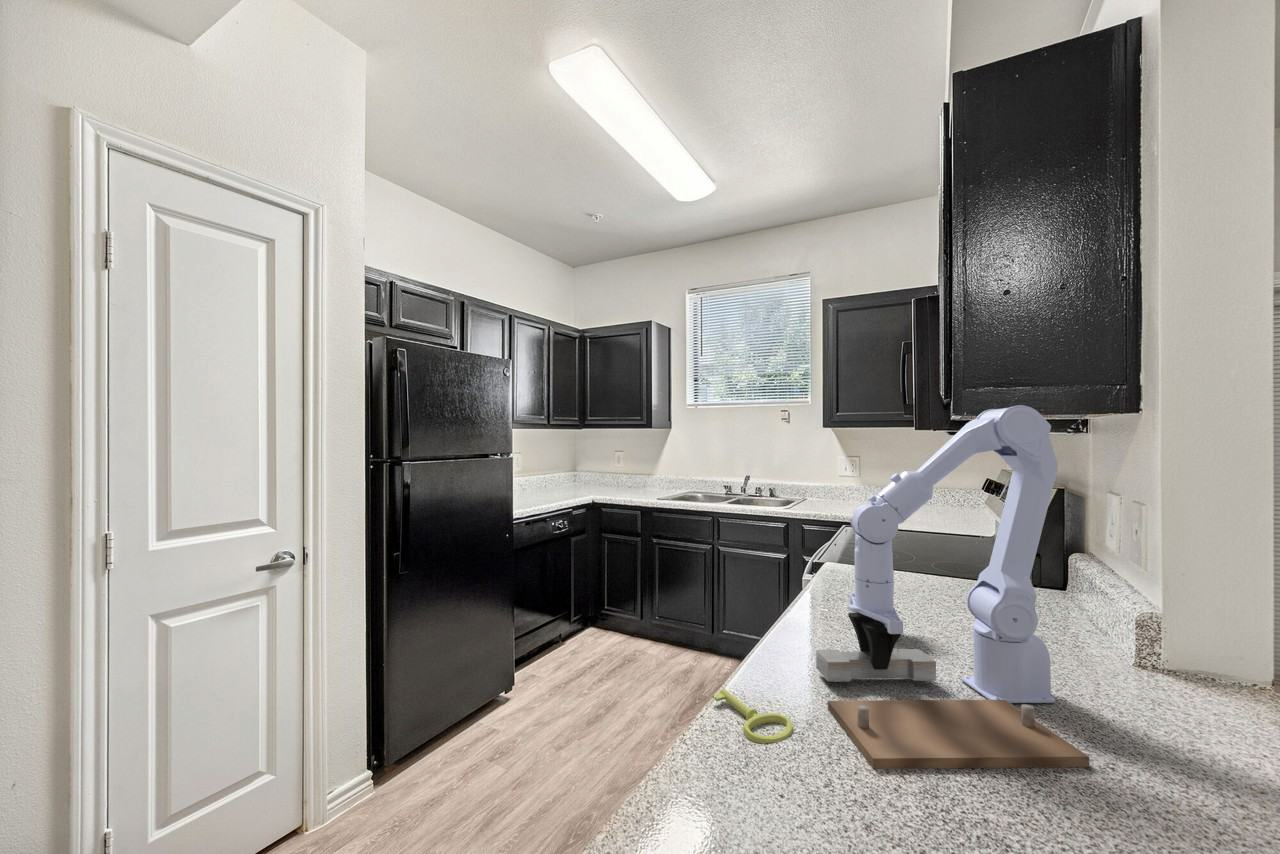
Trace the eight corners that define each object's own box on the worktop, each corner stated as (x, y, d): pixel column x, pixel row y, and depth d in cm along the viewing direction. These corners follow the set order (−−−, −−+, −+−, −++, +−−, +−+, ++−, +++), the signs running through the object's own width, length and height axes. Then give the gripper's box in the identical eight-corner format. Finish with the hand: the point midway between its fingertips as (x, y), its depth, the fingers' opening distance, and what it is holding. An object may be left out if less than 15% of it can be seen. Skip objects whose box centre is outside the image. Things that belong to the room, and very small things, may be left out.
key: (721, 700, 80) (721, 686, 80) (799, 730, 71) (799, 714, 72) (693, 719, 74) (693, 704, 74) (773, 754, 66) (773, 737, 66)
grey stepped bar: (918, 667, 88) (918, 649, 88) (936, 680, 83) (935, 661, 83) (816, 668, 88) (816, 649, 88) (827, 681, 83) (827, 662, 83)
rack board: (1005, 708, 77) (1004, 682, 77) (1089, 766, 63) (1088, 736, 63) (828, 709, 76) (827, 683, 76) (873, 768, 62) (872, 737, 62)
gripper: (832, 568, 93) (832, 646, 93) (869, 591, 79) (870, 684, 78) (871, 568, 93) (872, 646, 93) (916, 591, 79) (917, 683, 79)
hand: (874, 663), depth 86 cm, fingers closed on grey stepped bar, 3 cm apart
